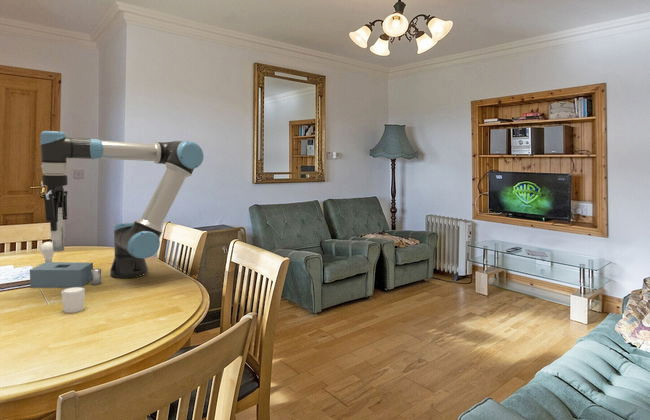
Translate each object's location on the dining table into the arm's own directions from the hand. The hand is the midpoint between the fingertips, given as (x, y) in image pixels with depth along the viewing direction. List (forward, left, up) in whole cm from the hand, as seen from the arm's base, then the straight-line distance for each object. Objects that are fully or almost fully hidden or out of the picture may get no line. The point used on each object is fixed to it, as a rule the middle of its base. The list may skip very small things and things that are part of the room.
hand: (58, 238), depth 149 cm
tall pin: (0, 0, -5) cm, 5 cm away
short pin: (-8, -13, -21) cm, 26 cm away
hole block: (+5, -14, -21) cm, 26 cm away
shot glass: (-12, +16, -21) cm, 29 cm away
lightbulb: (+24, -42, -21) cm, 53 cm away
